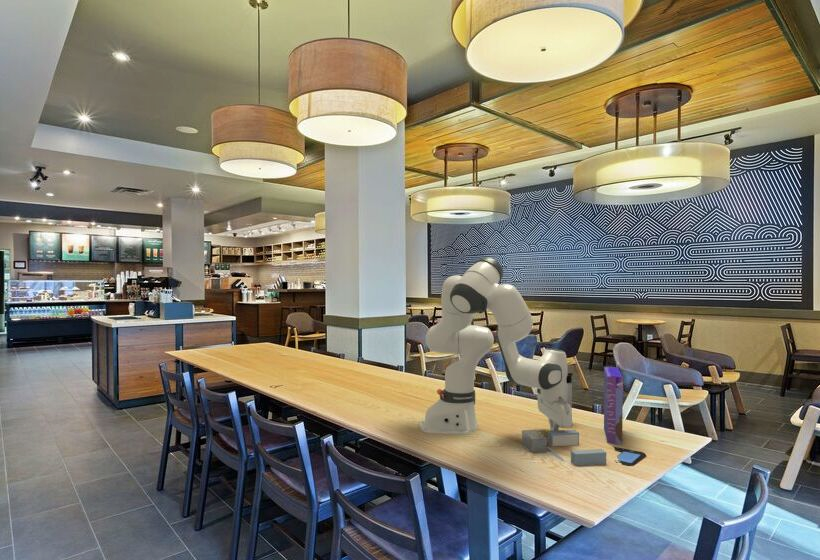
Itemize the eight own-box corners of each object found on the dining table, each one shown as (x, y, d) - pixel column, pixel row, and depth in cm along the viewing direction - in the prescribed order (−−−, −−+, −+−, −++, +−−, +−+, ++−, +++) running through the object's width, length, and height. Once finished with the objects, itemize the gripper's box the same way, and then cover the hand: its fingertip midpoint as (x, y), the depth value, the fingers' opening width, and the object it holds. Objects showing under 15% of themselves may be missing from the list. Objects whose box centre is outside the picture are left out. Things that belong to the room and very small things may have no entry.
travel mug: (573, 426, 172) (573, 375, 171) (555, 425, 173) (556, 374, 173) (571, 421, 178) (571, 371, 177) (554, 420, 179) (554, 371, 179)
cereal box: (622, 446, 152) (622, 376, 151) (607, 444, 153) (607, 375, 153) (617, 429, 168) (617, 366, 168) (603, 428, 170) (604, 365, 169)
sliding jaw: (551, 449, 150) (551, 434, 149) (542, 441, 157) (542, 427, 156) (579, 447, 151) (579, 432, 151) (569, 439, 158) (569, 425, 158)
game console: (608, 448, 151) (608, 442, 151) (648, 460, 142) (648, 453, 142) (589, 461, 141) (589, 454, 141) (631, 474, 132) (631, 466, 132)
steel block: (532, 457, 143) (532, 439, 143) (521, 447, 151) (521, 430, 151) (546, 456, 144) (546, 438, 144) (535, 446, 152) (535, 429, 152)
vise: (567, 471, 133) (567, 454, 133) (547, 452, 147) (547, 437, 147) (606, 468, 135) (606, 452, 135) (582, 450, 149) (582, 435, 149)
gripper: (577, 401, 148) (577, 442, 149) (550, 386, 169) (550, 422, 169) (559, 402, 148) (559, 443, 148) (534, 386, 168) (534, 423, 168)
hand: (554, 432), depth 159 cm, fingers closed
